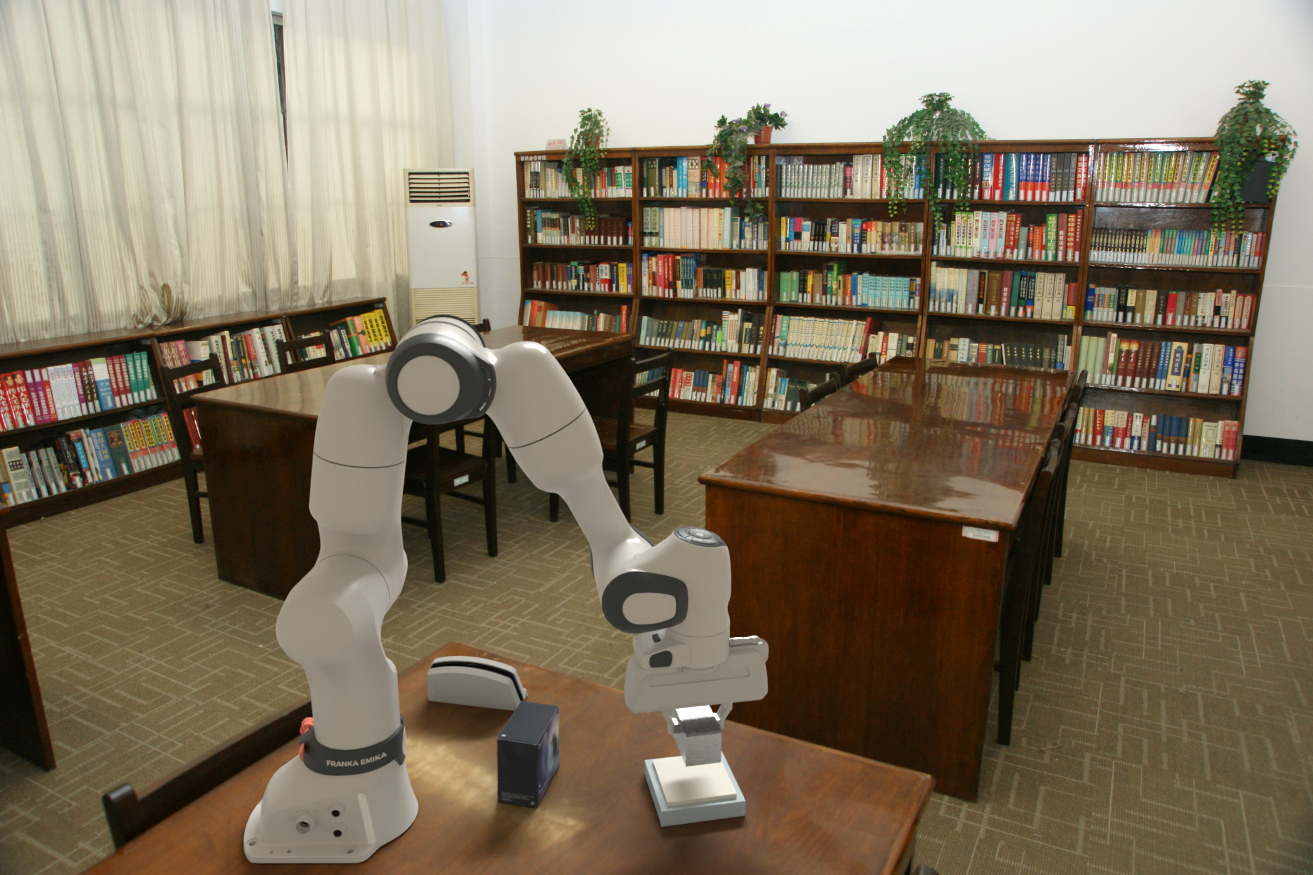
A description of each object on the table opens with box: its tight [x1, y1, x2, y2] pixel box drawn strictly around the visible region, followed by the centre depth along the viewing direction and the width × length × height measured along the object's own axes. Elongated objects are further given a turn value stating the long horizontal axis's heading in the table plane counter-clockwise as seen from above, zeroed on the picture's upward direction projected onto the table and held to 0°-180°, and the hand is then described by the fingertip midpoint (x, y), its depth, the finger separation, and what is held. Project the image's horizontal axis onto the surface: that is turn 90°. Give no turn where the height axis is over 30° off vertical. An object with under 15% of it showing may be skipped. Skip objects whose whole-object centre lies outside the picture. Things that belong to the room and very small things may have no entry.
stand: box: [643, 750, 747, 828], centre depth 131 cm, size 12×12×3 cm
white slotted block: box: [425, 655, 529, 712], centre depth 153 cm, size 17×5×10 cm, turn 79°
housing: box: [670, 705, 723, 767], centre depth 129 cm, size 9×5×5 cm, turn 12°
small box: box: [496, 700, 560, 809], centre depth 132 cm, size 11×6×10 cm, turn 168°
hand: (695, 729), depth 129 cm, fingers closed on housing, 5 cm apart
